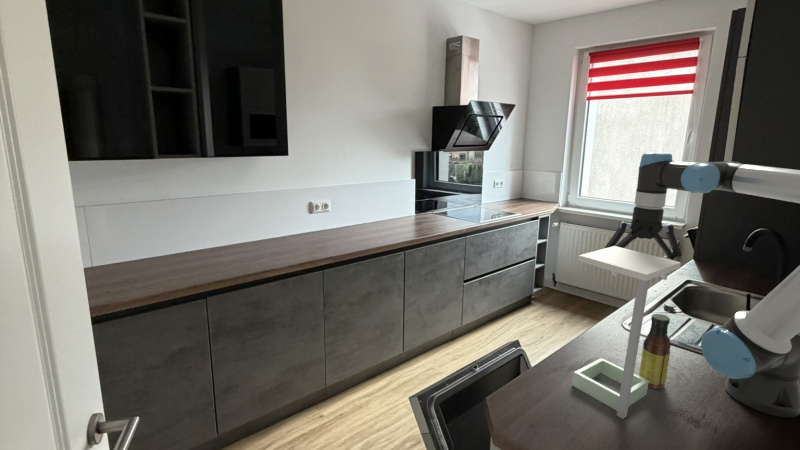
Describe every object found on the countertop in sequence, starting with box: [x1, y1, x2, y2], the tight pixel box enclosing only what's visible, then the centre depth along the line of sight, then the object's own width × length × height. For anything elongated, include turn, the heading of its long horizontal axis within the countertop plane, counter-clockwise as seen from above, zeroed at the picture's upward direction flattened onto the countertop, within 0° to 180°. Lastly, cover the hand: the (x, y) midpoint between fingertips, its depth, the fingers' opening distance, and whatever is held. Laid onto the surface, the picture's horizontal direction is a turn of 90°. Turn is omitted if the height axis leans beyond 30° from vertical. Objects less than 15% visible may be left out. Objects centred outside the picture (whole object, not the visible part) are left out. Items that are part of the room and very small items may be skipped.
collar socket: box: [571, 357, 649, 412], centre depth 110 cm, size 13×13×4 cm
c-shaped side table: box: [577, 245, 682, 420], centre depth 106 cm, size 16×16×36 cm
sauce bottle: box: [638, 313, 672, 390], centre depth 111 cm, size 7×6×20 cm
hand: (638, 276), depth 125 cm, fingers open, 13 cm apart
